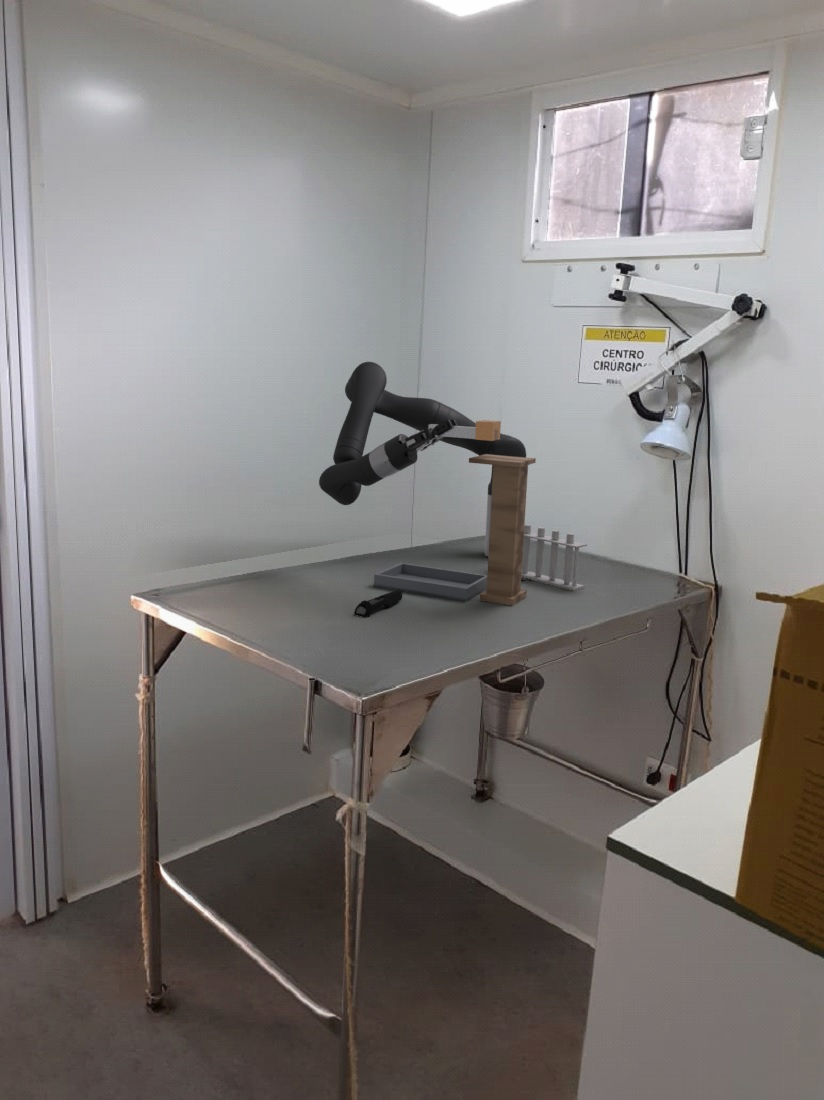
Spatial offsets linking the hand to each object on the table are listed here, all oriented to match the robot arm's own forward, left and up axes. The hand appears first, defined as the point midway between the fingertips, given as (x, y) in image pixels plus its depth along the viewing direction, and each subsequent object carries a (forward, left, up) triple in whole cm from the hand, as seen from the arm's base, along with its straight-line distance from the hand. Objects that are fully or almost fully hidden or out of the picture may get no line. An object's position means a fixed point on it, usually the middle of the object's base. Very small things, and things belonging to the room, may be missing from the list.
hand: (453, 423), depth 195 cm
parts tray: (-3, -3, -39) cm, 39 cm away
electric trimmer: (+13, -19, -39) cm, 45 cm away
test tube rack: (-7, +26, -39) cm, 48 cm away
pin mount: (+8, +10, -39) cm, 41 cm away
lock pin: (+2, +2, -3) cm, 4 cm away
